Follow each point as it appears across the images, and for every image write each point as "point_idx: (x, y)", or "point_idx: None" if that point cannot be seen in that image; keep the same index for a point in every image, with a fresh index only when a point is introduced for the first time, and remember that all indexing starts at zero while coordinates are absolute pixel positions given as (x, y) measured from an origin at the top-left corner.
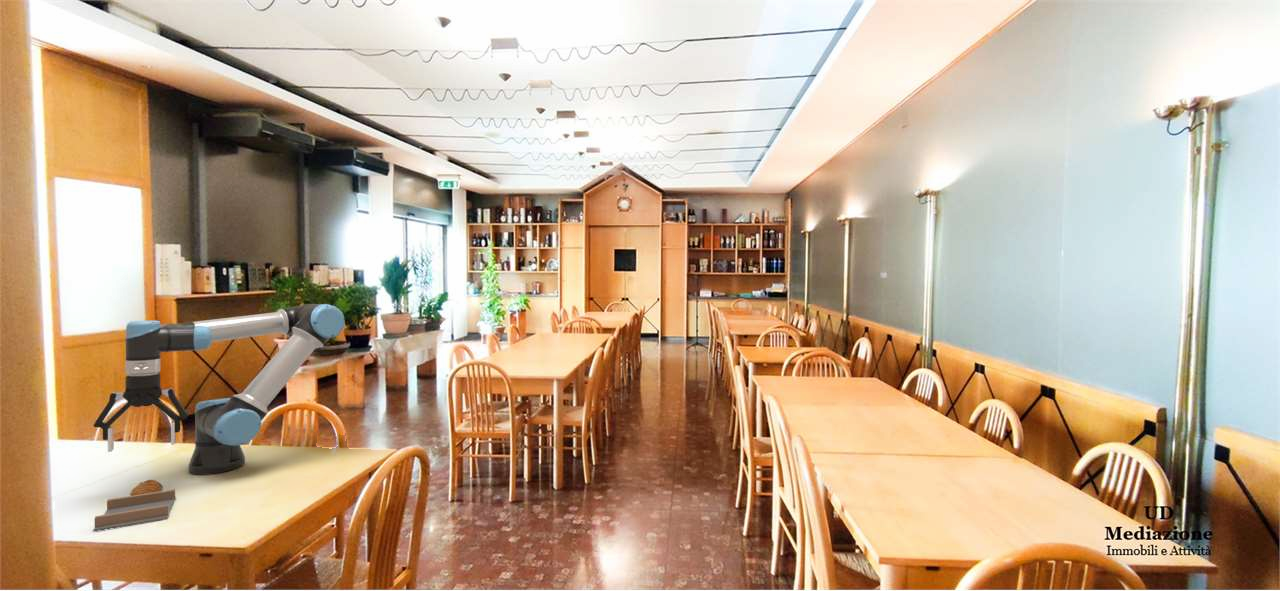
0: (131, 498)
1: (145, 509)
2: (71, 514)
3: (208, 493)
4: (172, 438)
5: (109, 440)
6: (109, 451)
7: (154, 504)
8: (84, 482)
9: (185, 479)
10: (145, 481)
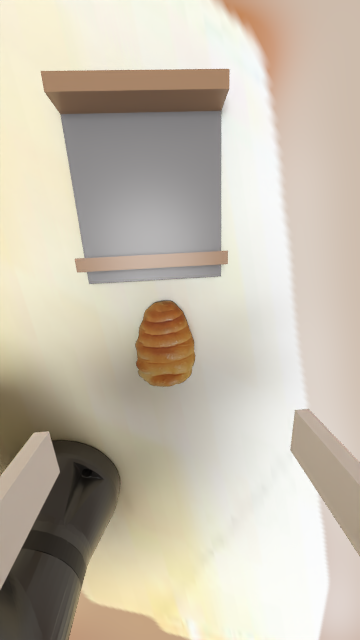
0: (175, 253)
1: (102, 70)
2: (284, 277)
3: (20, 287)
4: (18, 465)
5: (353, 464)
6: (303, 411)
7: (123, 237)
8: (289, 481)
9: (111, 426)
10: (171, 380)
